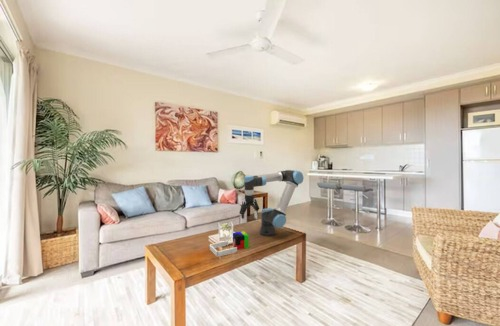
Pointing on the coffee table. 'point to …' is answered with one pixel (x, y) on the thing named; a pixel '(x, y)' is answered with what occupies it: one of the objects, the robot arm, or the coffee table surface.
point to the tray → (223, 252)
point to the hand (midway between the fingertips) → (249, 220)
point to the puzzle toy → (241, 240)
